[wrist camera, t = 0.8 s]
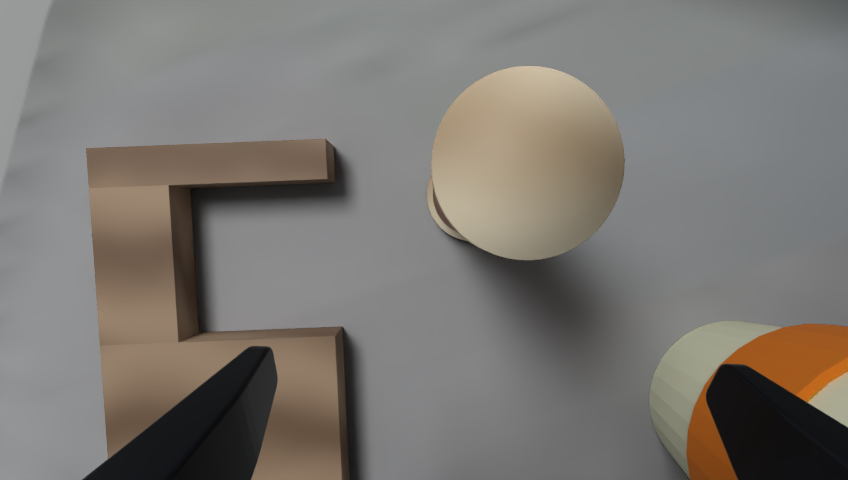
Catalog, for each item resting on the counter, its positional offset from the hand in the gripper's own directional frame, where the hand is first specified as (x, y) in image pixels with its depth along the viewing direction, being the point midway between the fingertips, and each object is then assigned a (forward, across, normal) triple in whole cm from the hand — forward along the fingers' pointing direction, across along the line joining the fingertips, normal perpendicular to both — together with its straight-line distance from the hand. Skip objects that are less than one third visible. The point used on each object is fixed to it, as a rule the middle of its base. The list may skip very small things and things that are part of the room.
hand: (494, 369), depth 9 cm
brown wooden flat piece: (+12, +12, +10) cm, 19 cm away
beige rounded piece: (+16, -1, +3) cm, 16 cm away
